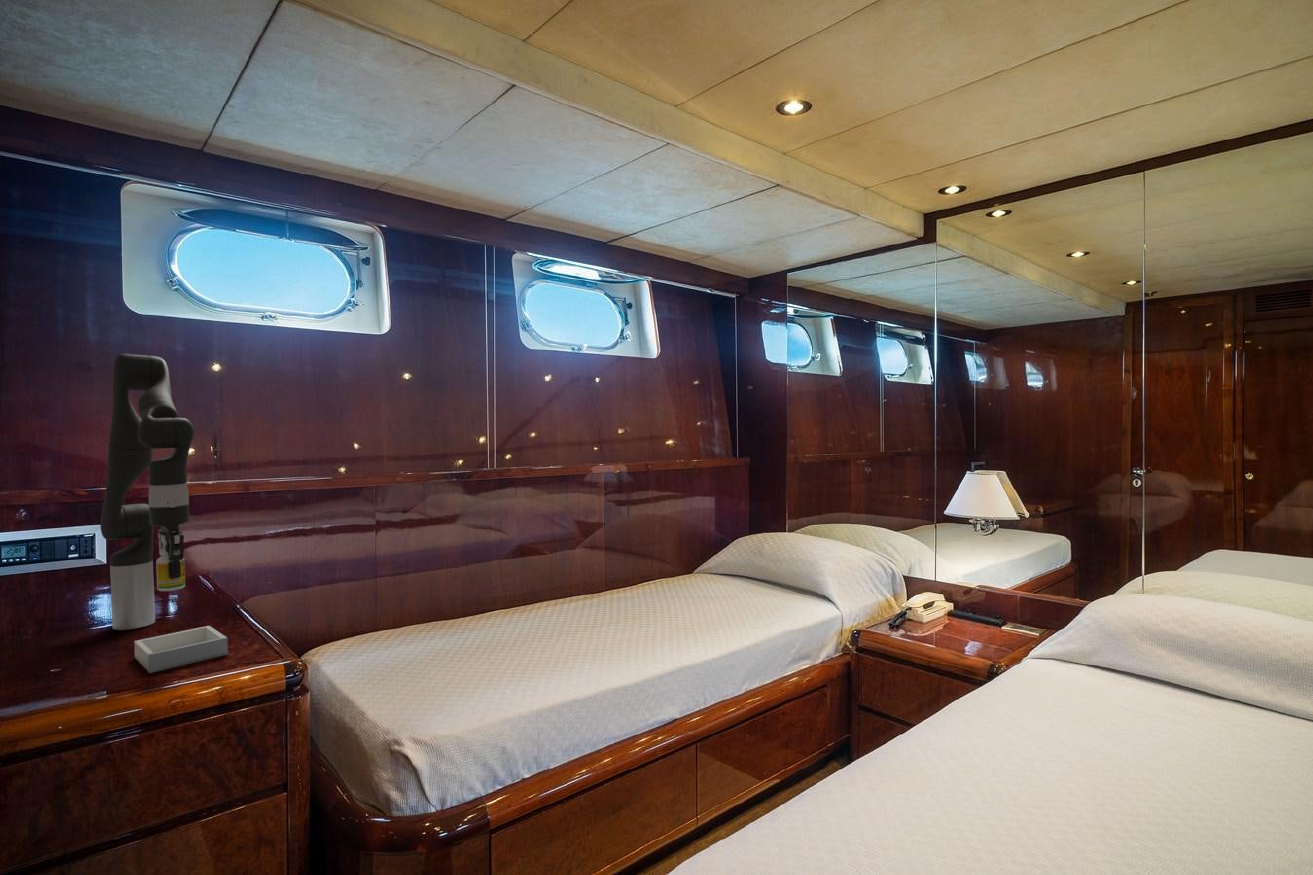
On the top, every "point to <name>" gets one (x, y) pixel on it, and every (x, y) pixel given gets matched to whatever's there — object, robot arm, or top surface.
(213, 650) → the box
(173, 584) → the supplement bottle
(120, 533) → the robot arm
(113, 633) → the top surface
